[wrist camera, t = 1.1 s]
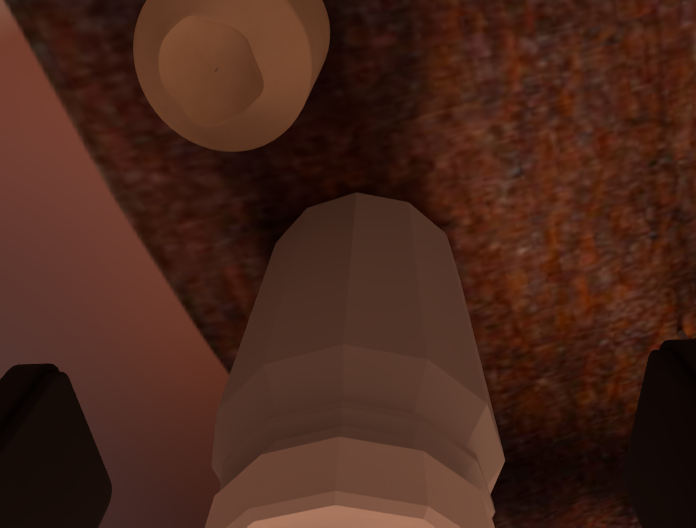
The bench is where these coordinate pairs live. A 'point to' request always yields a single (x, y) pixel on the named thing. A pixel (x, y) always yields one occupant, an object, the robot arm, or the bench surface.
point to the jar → (357, 383)
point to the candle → (230, 66)
